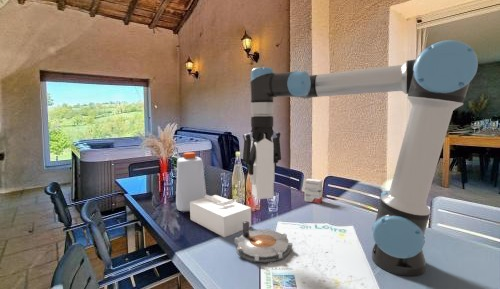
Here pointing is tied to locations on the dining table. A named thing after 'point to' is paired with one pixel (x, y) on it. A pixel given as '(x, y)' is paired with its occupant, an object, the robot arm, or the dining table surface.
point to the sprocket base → (262, 259)
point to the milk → (263, 170)
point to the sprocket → (262, 243)
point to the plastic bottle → (189, 181)
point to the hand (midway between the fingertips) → (262, 182)
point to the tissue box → (220, 214)
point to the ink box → (313, 190)
